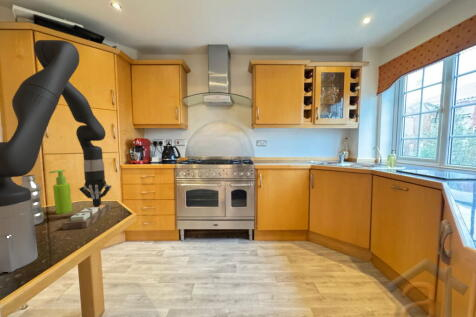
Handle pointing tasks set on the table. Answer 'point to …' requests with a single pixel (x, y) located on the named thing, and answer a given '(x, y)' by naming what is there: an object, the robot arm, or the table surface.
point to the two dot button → (80, 216)
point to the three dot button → (90, 210)
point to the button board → (88, 221)
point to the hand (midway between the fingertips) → (97, 206)
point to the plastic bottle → (34, 197)
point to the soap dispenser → (62, 194)
